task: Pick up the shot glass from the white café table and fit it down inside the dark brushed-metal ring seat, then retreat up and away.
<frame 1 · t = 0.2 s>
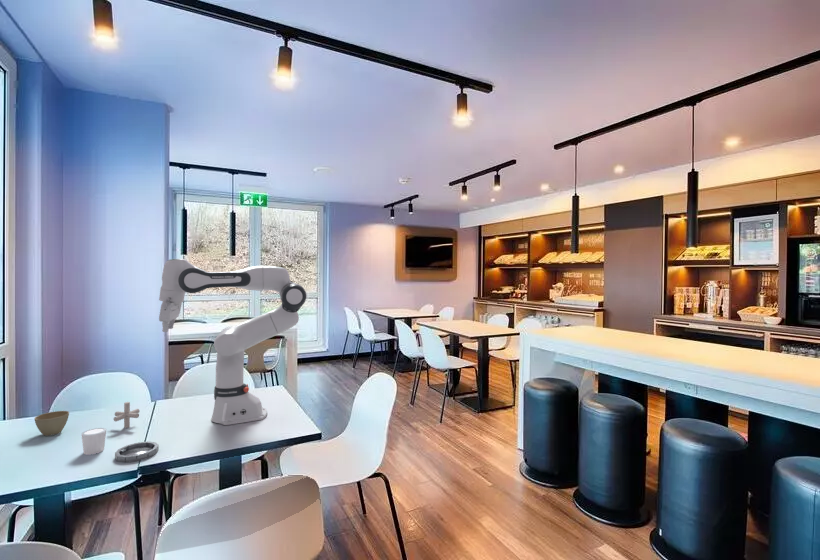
hand: (167, 330, 164), 39 cm above the table, tool pointing down, fingers open, 8 cm apart
tan bowl: (52, 433, 153), on the table
pipe connector: (126, 427, 160), on the table
ring seat: (137, 454, 137), on the table
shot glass: (94, 451, 139), on the table
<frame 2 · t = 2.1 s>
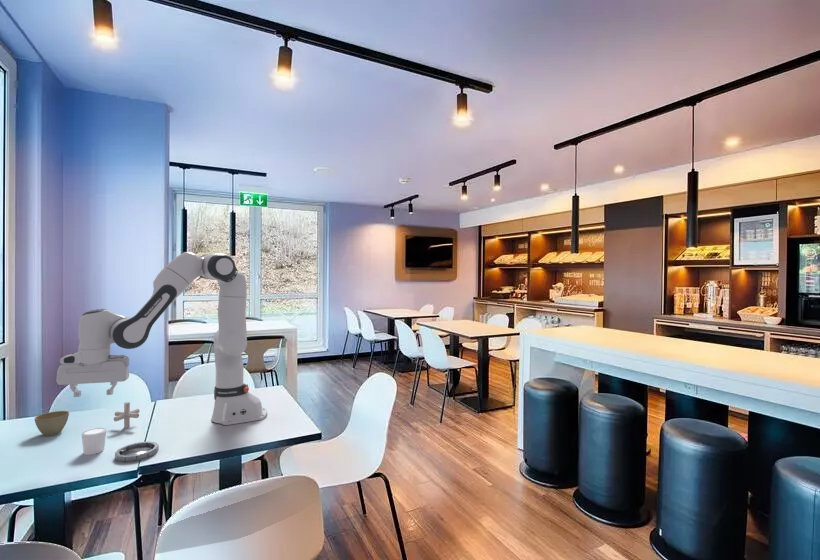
hand: (93, 395, 138), 20 cm above the table, tool pointing down, fingers open, 8 cm apart
nothing on the table moved.
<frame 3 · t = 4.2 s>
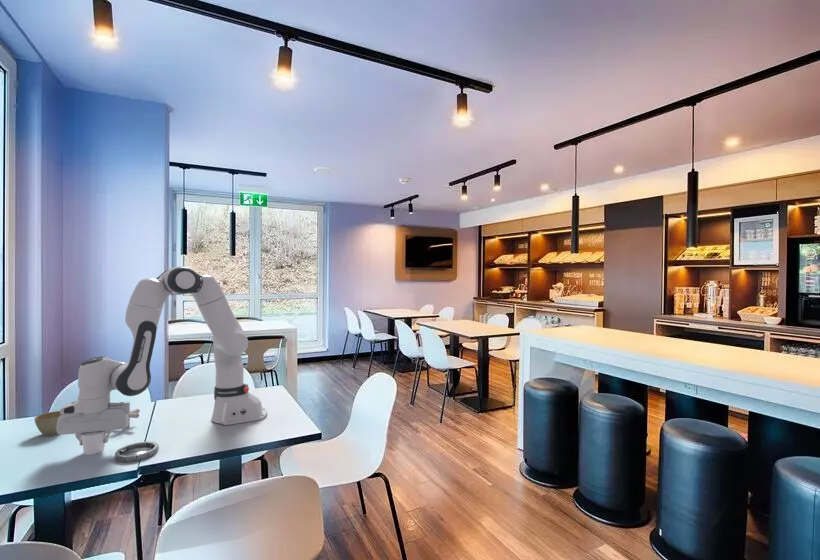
hand: (94, 443, 139), 3 cm above the table, tool pointing down, fingers closed on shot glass, 5 cm apart
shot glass: (94, 451, 139), on the table, touching gripper
everything else where it was.
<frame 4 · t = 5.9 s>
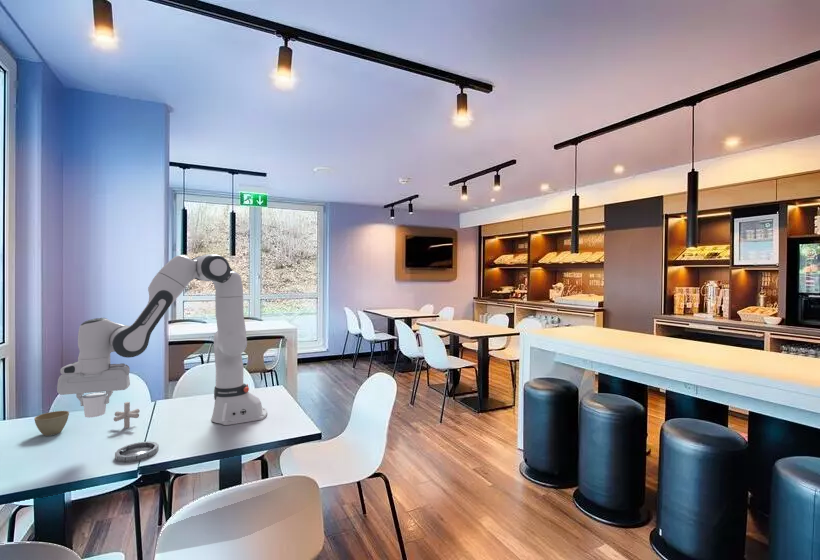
hand: (95, 404, 139), 16 cm above the table, tool pointing down, fingers closed on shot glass, 5 cm apart
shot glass: (95, 415, 139), point 13 cm above the table, touching gripper
everything else where it was.
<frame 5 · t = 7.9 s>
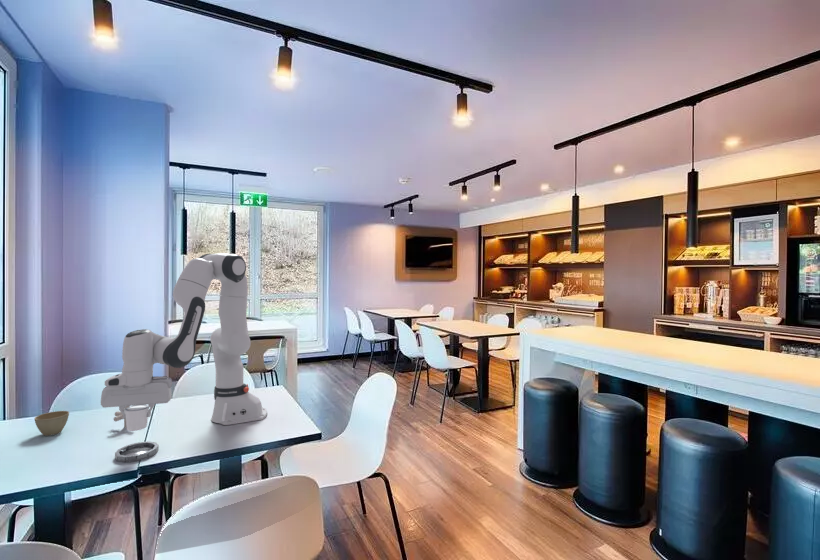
hand: (137, 417, 136), 13 cm above the table, tool pointing down, fingers closed on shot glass, 5 cm apart
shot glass: (136, 428, 136), point 9 cm above the table, touching gripper
everything else where it was.
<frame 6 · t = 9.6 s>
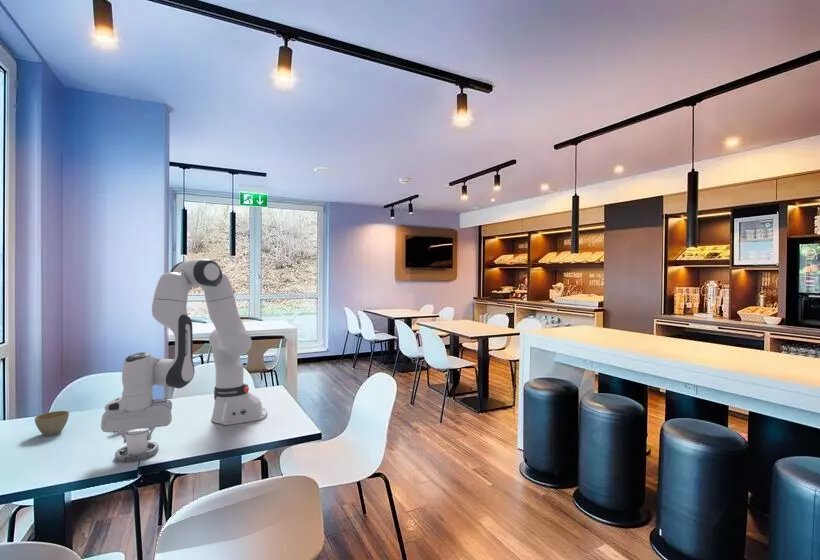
hand: (137, 440, 137), 5 cm above the table, tool pointing down, fingers closed on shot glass, 5 cm apart
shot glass: (137, 451, 137), point 1 cm above the table, touching gripper
everything else where it was.
when the fingers open (5 cm above the table, at t = 10.3 s): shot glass stays where it is, resting on ring seat.
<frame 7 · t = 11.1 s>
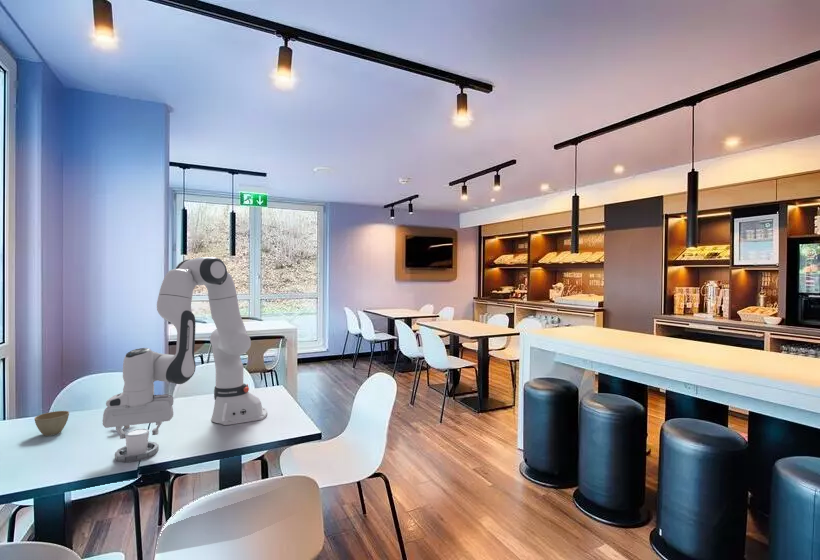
hand: (139, 436, 137), 6 cm above the table, tool pointing down, fingers open, 8 cm apart
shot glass: (137, 453, 137), resting on ring seat, touching gripper
everything else where it was.
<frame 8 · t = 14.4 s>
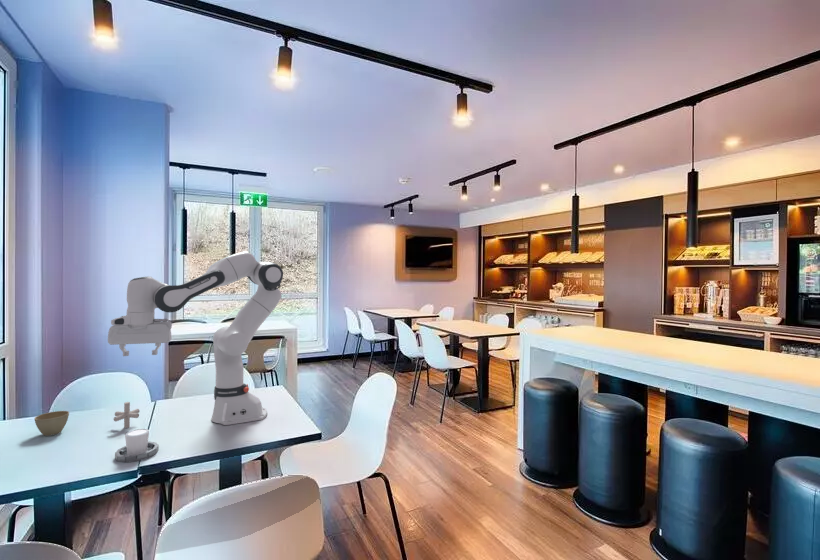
hand: (140, 355, 151), 31 cm above the table, tool pointing down, fingers open, 8 cm apart
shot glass: (137, 453, 137), resting on ring seat
everything else where it was.
at the end: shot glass 0.1 cm from the ring seat (horizontally); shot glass resting on ring seat; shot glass tilted 0° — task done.
